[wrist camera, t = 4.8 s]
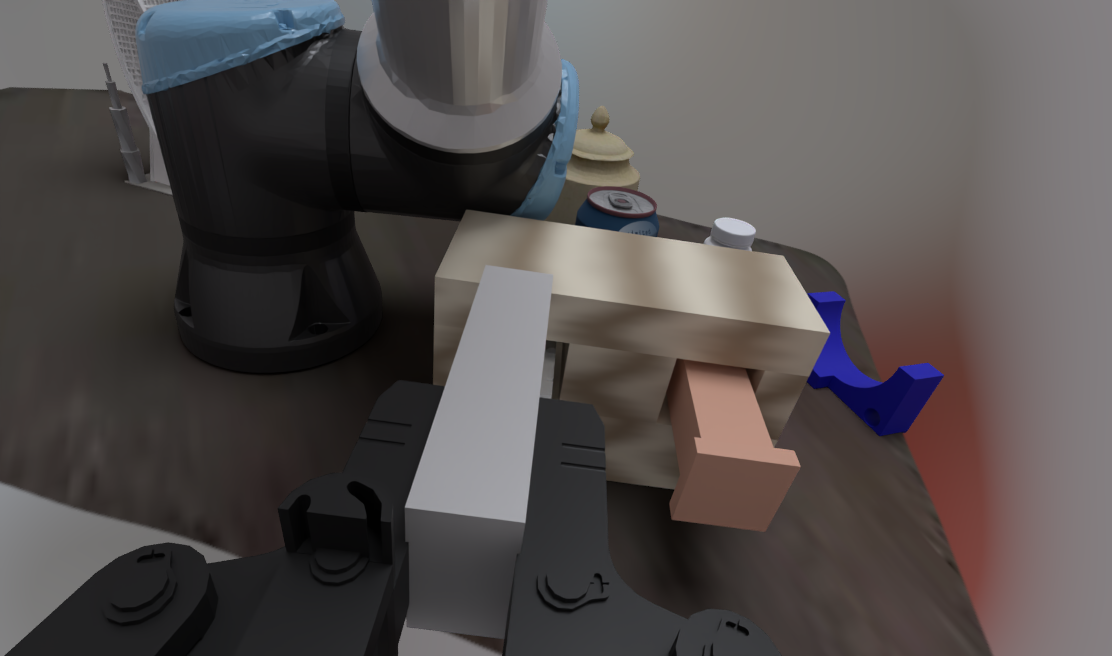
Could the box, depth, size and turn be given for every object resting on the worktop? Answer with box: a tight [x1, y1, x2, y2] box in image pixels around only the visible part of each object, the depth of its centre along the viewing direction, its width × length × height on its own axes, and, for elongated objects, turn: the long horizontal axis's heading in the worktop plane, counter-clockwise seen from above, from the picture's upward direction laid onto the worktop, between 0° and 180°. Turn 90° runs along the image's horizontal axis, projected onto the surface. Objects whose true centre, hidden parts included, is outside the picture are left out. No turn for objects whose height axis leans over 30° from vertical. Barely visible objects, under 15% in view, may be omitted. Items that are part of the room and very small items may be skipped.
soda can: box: [575, 186, 659, 237], centre depth 50 cm, size 7×7×12 cm
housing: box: [433, 209, 830, 489], centre depth 38 cm, size 21×9×14 cm, turn 87°
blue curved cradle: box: [807, 292, 944, 436], centre depth 48 cm, size 12×4×6 cm, turn 19°
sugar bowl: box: [544, 106, 640, 225], centre depth 64 cm, size 15×11×15 cm
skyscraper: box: [102, 0, 182, 196], centre depth 59 cm, size 8×8×28 cm
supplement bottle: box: [704, 218, 756, 251], centre depth 57 cm, size 5×5×8 cm
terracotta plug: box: [666, 358, 801, 532], centre depth 33 cm, size 5×12×5 cm, turn 177°
